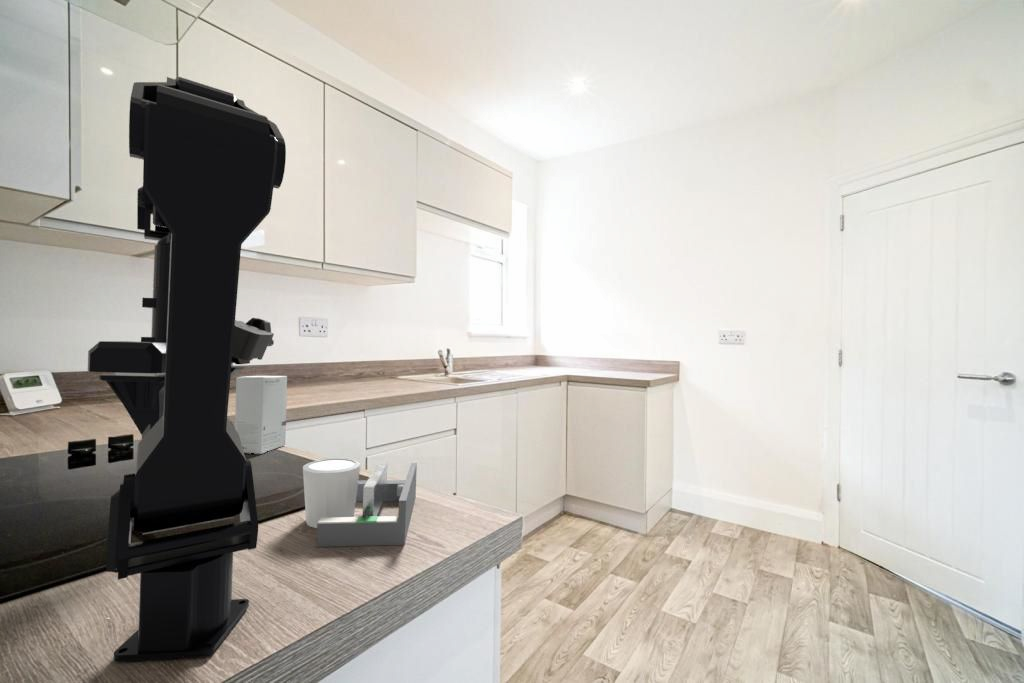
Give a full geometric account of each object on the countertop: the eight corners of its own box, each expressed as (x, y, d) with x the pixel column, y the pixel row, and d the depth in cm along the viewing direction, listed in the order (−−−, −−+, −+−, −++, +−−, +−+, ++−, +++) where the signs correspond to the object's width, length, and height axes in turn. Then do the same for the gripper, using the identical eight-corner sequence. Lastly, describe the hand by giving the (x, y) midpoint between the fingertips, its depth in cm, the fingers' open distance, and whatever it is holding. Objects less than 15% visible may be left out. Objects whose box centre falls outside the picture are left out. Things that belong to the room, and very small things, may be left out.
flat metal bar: (369, 533, 50) (370, 494, 50) (358, 533, 50) (359, 494, 50) (386, 493, 64) (387, 461, 64) (377, 493, 64) (378, 461, 64)
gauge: (404, 544, 51) (406, 500, 51) (316, 546, 50) (318, 501, 50) (415, 497, 66) (416, 463, 66) (348, 497, 65) (349, 463, 65)
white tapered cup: (339, 533, 53) (341, 474, 53) (288, 527, 55) (290, 469, 55) (368, 512, 60) (370, 459, 60) (322, 507, 61) (324, 455, 61)
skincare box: (260, 455, 87) (263, 377, 87) (231, 453, 87) (234, 376, 87) (286, 445, 95) (289, 374, 95) (259, 443, 96) (262, 373, 96)
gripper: (219, 284, 41) (213, 455, 41) (293, 302, 60) (289, 419, 60) (85, 278, 40) (79, 454, 40) (203, 298, 59) (199, 418, 59)
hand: (181, 433), depth 50 cm, fingers open, 9 cm apart
